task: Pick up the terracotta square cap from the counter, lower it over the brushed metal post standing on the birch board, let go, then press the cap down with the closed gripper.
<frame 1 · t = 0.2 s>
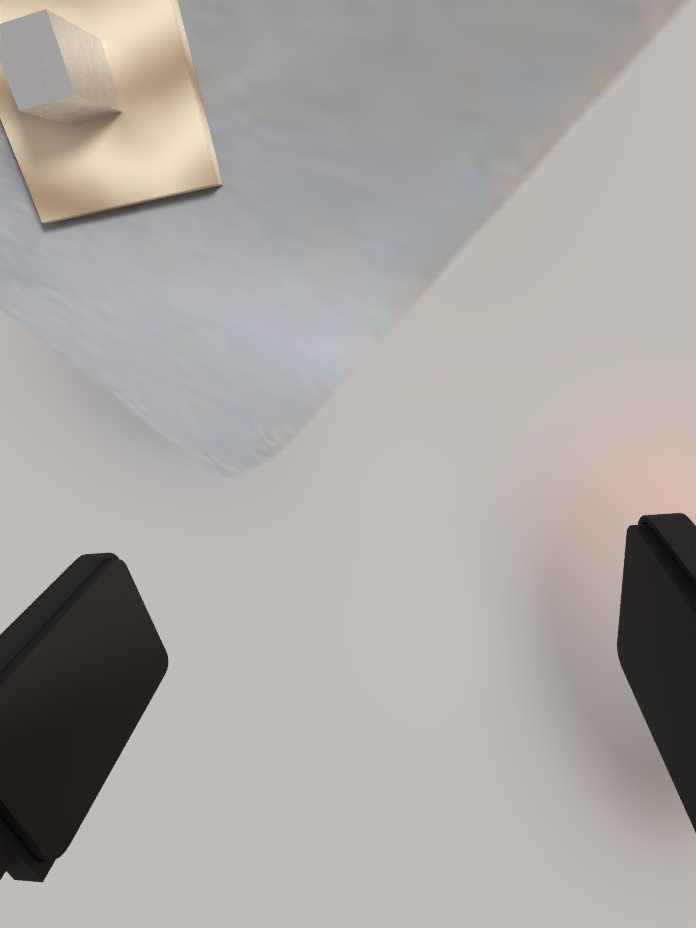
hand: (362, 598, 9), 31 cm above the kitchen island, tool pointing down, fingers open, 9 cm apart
metal post: (86, 83, 31), resting on birch board
birch board: (97, 88, 33), on the kitchen island
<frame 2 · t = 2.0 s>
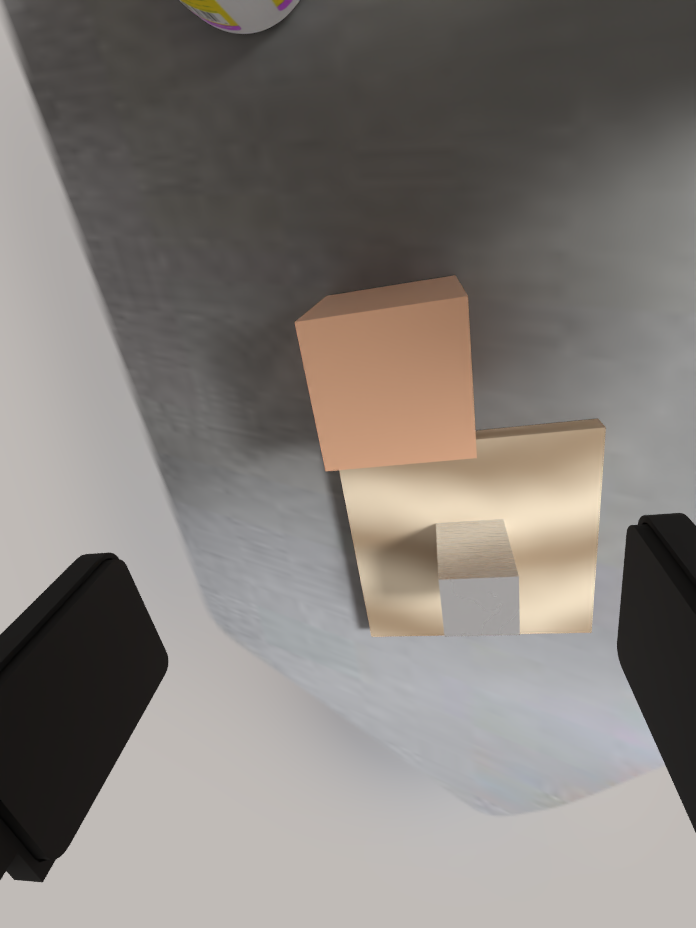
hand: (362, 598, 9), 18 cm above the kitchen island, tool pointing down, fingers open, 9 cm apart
metal post: (470, 547, 29), resting on birch board
terracotta cap: (397, 349, 25), on the kitchen island
birch board: (469, 536, 30), on the kitchen island
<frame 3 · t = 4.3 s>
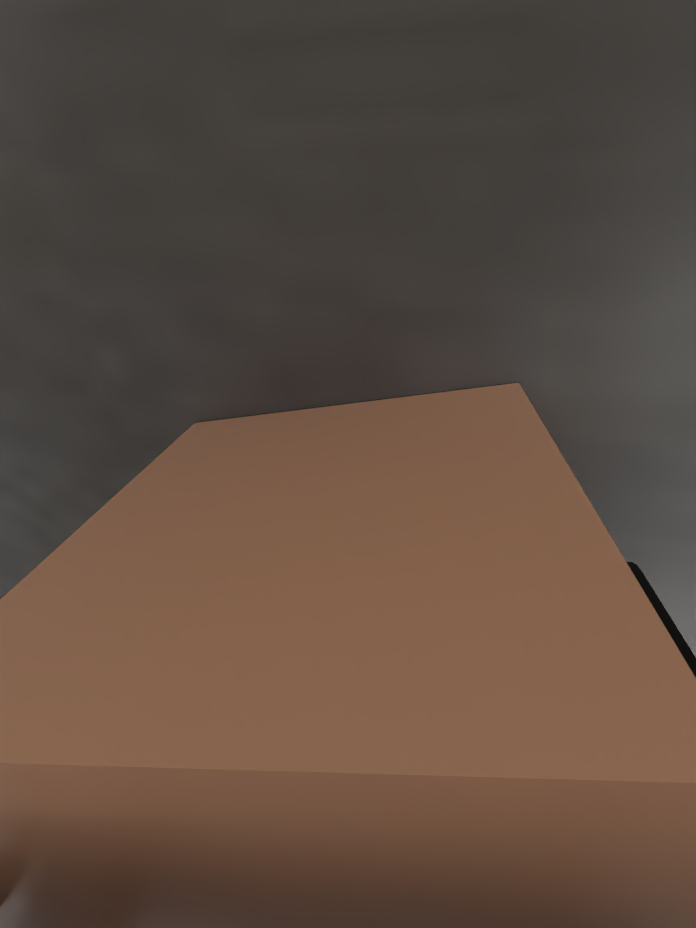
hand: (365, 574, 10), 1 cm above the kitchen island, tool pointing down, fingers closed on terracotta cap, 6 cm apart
terracotta cap: (371, 539, 11), on the kitchen island, touching gripper
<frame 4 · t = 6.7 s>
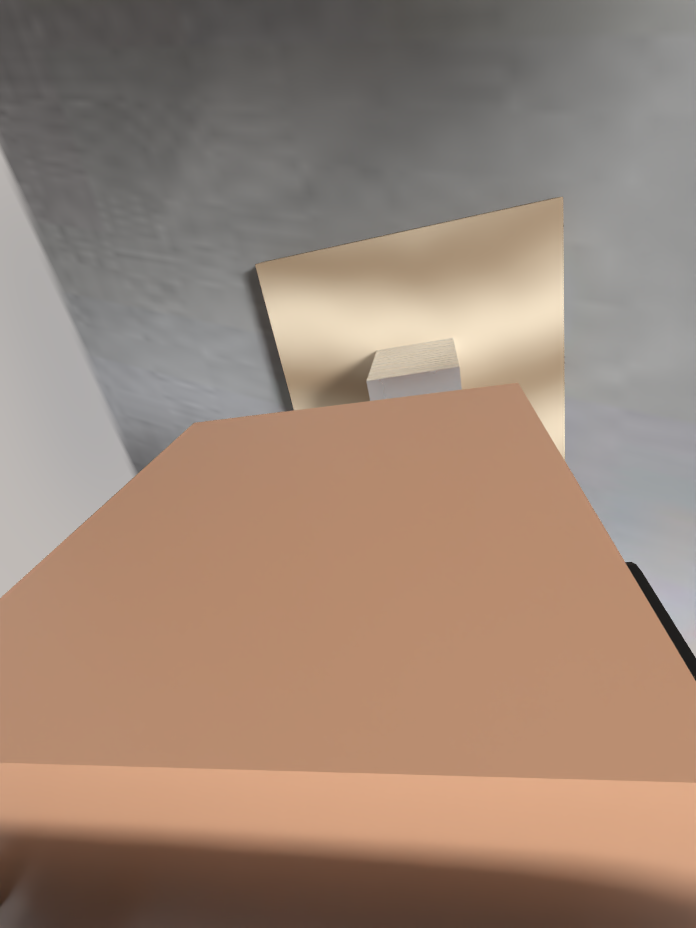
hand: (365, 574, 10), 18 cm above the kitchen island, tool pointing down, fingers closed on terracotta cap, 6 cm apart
metal post: (419, 380, 25), resting on birch board
terracotta cap: (370, 539, 11), point 17 cm above the kitchen island, touching gripper
birch board: (419, 373, 26), on the kitchen island
when the fingers open (5 cm above the kitchen island, at t = 9.2 s): terracotta cap drops 3 cm, resting on birch board.
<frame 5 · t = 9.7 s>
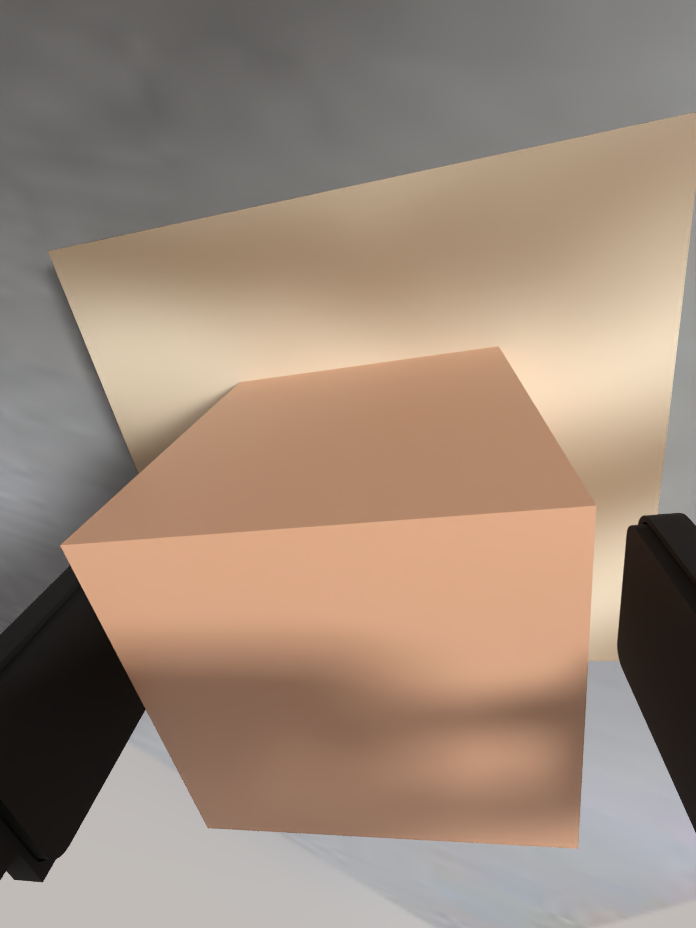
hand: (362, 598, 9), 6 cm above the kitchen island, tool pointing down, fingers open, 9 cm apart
terracotta cap: (381, 479, 13), point 1 cm above the kitchen island, touching birch board
birch board: (383, 461, 14), on the kitchen island
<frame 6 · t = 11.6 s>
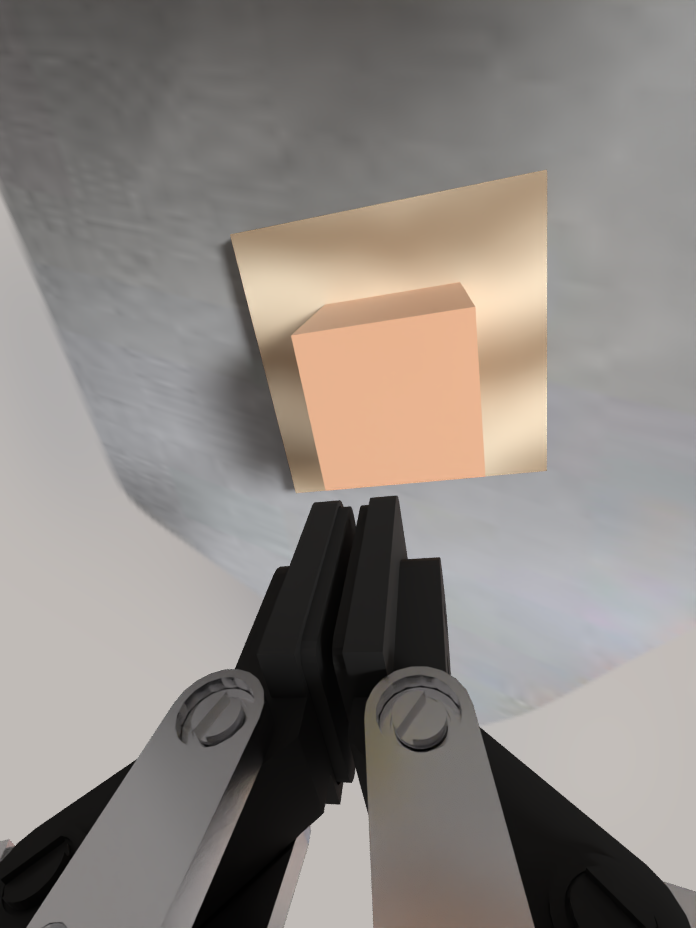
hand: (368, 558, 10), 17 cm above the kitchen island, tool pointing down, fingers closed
terracotta cap: (399, 360, 24), point 1 cm above the kitchen island, touching birch board
birch board: (399, 354, 25), on the kitchen island
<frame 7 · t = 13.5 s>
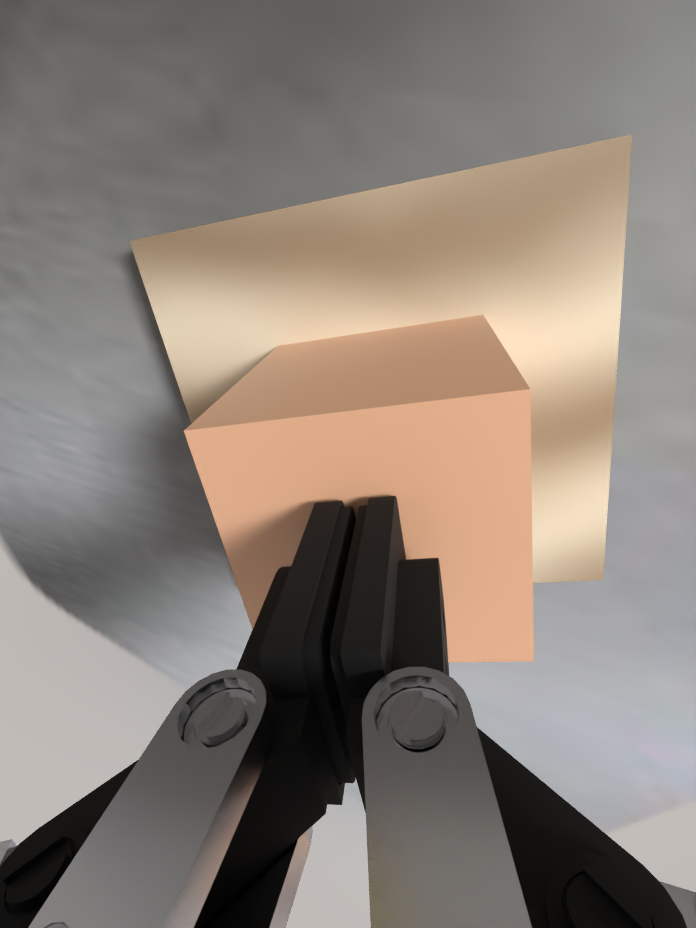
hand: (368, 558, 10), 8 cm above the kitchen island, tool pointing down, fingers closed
terracotta cap: (390, 426, 16), point 1 cm above the kitchen island, touching birch board, gripper
birch board: (391, 414, 17), on the kitchen island
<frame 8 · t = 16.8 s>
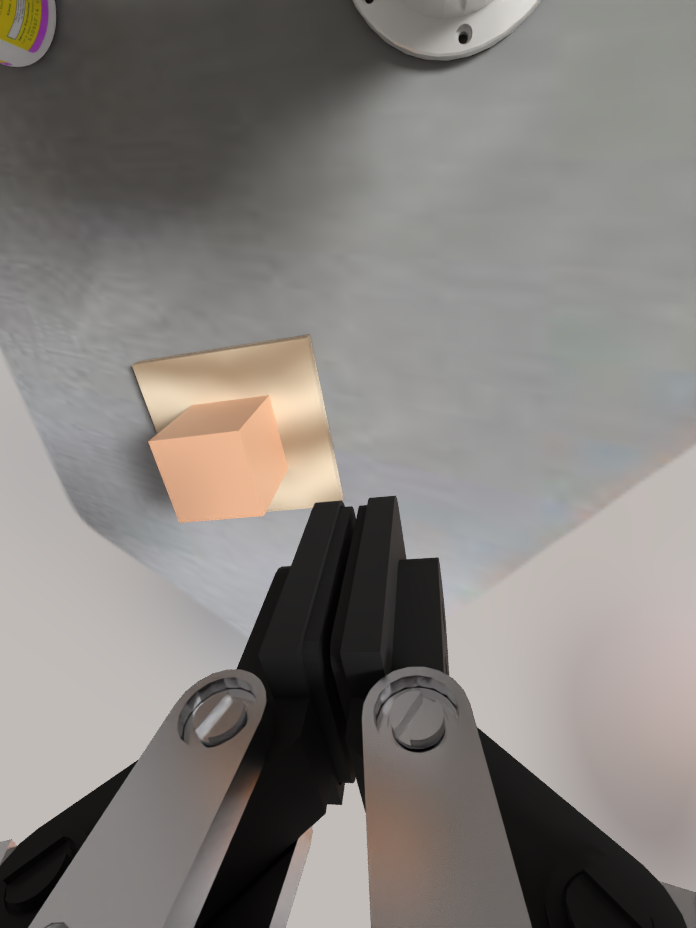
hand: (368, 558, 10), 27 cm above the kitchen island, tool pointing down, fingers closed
supplement bottle: (10, 1, 29), on the kitchen island
terracotta cap: (241, 437, 39), point 1 cm above the kitchen island, touching birch board
birch board: (245, 432, 40), on the kitchen island
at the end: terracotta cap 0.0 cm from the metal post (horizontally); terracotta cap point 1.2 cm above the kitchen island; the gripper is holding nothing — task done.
